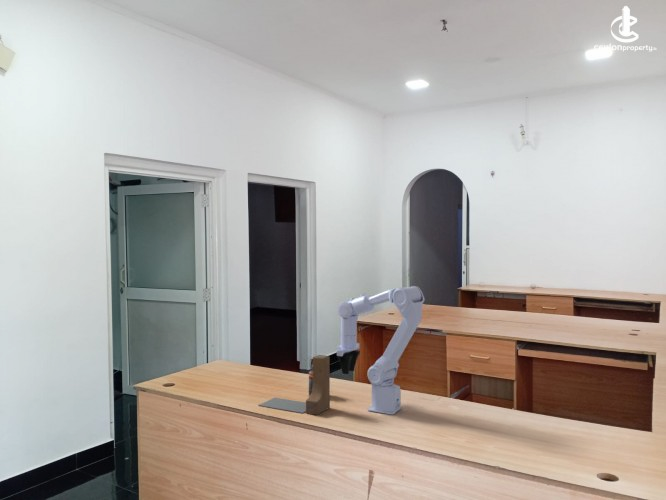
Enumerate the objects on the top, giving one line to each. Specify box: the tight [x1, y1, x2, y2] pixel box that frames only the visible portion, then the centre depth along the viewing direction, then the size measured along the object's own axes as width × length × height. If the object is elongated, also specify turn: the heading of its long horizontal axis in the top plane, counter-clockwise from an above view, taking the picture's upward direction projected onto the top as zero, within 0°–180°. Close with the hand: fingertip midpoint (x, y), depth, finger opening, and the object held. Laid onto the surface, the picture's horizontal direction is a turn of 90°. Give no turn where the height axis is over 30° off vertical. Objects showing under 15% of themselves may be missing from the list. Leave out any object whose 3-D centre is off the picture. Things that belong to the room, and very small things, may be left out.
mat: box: [258, 397, 306, 414], centre depth 181 cm, size 18×10×1 cm, turn 62°
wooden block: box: [305, 354, 331, 416], centre depth 175 cm, size 9×4×18 cm, turn 152°
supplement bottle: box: [308, 364, 313, 397], centre depth 193 cm, size 6×6×11 cm
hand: (348, 372), depth 185 cm, fingers open, 4 cm apart
